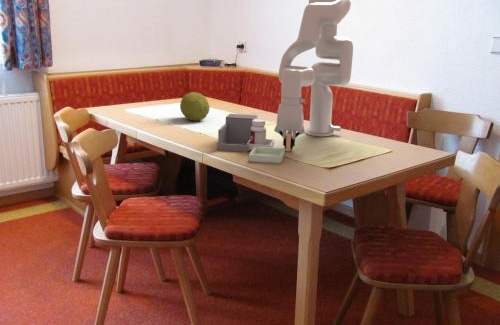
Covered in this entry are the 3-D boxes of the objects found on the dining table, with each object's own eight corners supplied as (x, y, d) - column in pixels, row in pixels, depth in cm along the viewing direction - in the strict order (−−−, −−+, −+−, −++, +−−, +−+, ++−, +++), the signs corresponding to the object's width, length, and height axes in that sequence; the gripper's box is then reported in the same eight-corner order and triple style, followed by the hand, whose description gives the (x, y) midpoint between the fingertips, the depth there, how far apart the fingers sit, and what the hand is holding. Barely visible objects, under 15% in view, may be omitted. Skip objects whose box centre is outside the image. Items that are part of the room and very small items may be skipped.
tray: (284, 155, 183) (284, 148, 182) (280, 164, 172) (280, 157, 171) (254, 153, 185) (254, 146, 184) (248, 161, 174) (248, 154, 173)
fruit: (217, 120, 240) (210, 96, 230) (191, 132, 237) (183, 108, 227) (205, 105, 251) (197, 81, 241) (180, 116, 248) (171, 93, 238)
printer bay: (256, 139, 205) (257, 115, 202) (247, 152, 186) (248, 125, 183) (229, 137, 207) (230, 113, 204) (218, 150, 188) (218, 123, 185)
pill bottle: (249, 146, 194) (249, 118, 191) (264, 146, 195) (265, 118, 192) (251, 150, 188) (251, 122, 185) (266, 150, 189) (267, 121, 186)
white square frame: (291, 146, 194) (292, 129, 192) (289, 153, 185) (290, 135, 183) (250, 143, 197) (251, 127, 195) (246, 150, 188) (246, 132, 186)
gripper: (312, 100, 186) (309, 146, 191) (271, 98, 189) (270, 144, 194) (310, 104, 179) (308, 151, 184) (269, 101, 182) (267, 149, 187)
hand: (288, 147), depth 189 cm, fingers closed on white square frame
